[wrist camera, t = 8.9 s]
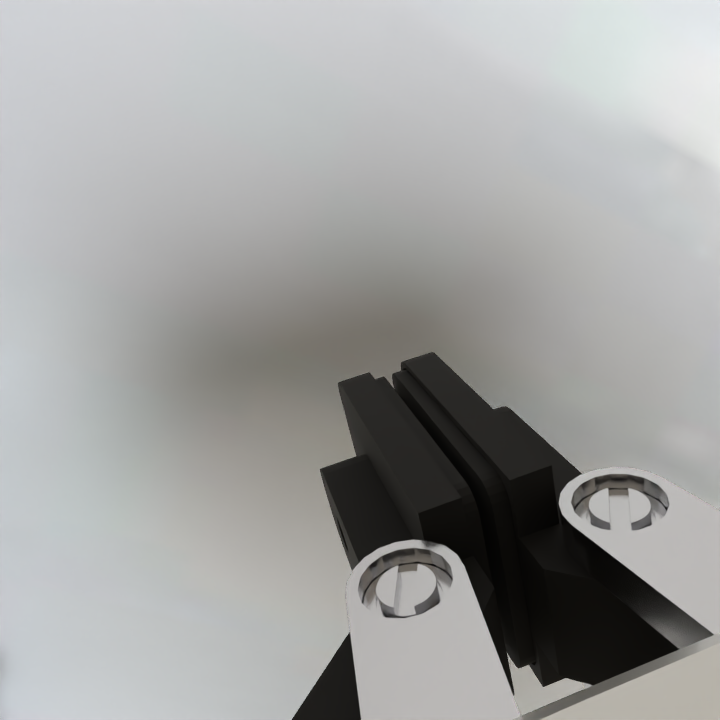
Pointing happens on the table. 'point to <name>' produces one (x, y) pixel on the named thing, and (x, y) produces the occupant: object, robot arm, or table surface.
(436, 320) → the table surface
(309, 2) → the table surface
